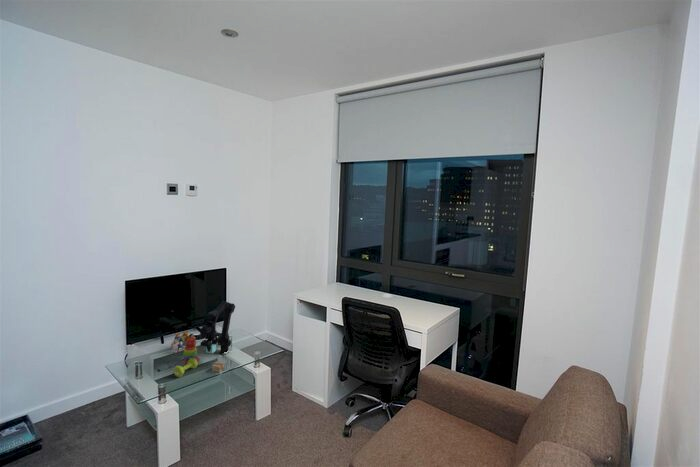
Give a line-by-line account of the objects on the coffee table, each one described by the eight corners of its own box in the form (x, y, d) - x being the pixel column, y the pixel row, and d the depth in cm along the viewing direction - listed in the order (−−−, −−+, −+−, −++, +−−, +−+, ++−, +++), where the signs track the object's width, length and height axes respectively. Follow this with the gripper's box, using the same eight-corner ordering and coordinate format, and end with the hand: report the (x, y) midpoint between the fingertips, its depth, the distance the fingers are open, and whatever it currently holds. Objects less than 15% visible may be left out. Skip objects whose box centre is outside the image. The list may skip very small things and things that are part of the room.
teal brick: (209, 349, 264) (209, 343, 263) (216, 350, 263) (216, 344, 262) (206, 352, 259) (206, 346, 258) (212, 353, 258) (212, 347, 257)
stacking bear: (192, 365, 258) (192, 342, 255) (179, 363, 260) (179, 340, 257) (201, 358, 268) (201, 336, 266) (189, 356, 270) (189, 334, 268)
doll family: (172, 355, 270) (172, 339, 269) (164, 351, 275) (164, 335, 273) (196, 345, 289) (196, 330, 287) (188, 342, 293) (189, 327, 292)
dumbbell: (190, 365, 258) (190, 356, 257) (199, 368, 256) (199, 358, 255) (172, 376, 243) (172, 366, 242) (180, 379, 240) (180, 369, 239)
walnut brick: (216, 367, 257) (216, 361, 256) (224, 368, 256) (224, 362, 255) (211, 371, 251) (212, 365, 251) (219, 372, 250) (219, 366, 250)
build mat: (215, 366, 259) (215, 365, 259) (228, 368, 258) (228, 367, 258) (207, 373, 250) (207, 372, 250) (220, 375, 248) (220, 374, 248)
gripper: (208, 323, 269) (208, 343, 271) (193, 333, 251) (193, 354, 253) (222, 325, 267) (221, 345, 269) (207, 335, 249) (207, 356, 251)
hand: (211, 350), depth 261 cm, fingers closed on teal brick, 5 cm apart
